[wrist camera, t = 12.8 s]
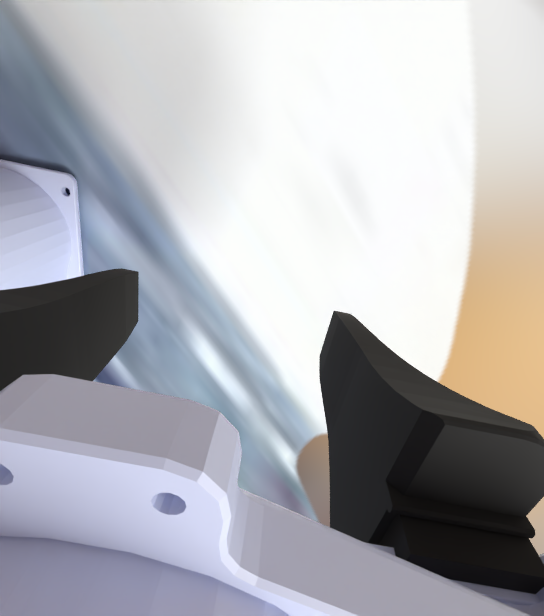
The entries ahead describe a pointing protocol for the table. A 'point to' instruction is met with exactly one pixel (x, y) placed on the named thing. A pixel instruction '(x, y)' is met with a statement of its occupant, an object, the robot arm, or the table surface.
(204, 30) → the table surface
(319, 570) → the robot arm
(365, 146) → the table surface
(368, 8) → the table surface
